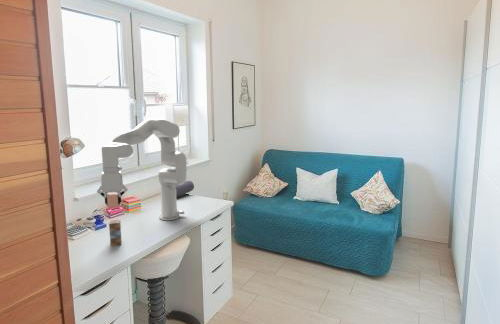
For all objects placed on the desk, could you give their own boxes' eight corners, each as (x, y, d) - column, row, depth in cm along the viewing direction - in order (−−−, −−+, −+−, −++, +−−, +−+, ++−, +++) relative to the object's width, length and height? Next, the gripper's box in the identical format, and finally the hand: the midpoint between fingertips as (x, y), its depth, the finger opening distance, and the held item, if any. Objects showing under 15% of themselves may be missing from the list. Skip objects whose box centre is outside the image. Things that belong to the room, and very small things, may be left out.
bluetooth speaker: (185, 191, 291) (185, 179, 290) (194, 193, 287) (194, 180, 285) (165, 198, 272) (165, 185, 270) (175, 199, 268) (174, 186, 266)
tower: (121, 241, 192) (120, 219, 189) (120, 245, 187) (119, 222, 185) (111, 242, 190) (110, 220, 188) (110, 246, 185) (109, 223, 183)
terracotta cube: (119, 203, 188) (118, 192, 187) (118, 206, 183) (117, 195, 182) (108, 204, 187) (108, 193, 185) (107, 207, 182) (106, 195, 181)
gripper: (129, 167, 187) (131, 201, 191) (93, 169, 183) (96, 203, 186) (128, 170, 180) (130, 205, 183) (91, 172, 176) (94, 207, 179)
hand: (113, 204), depth 185 cm, fingers closed on terracotta cube, 4 cm apart
